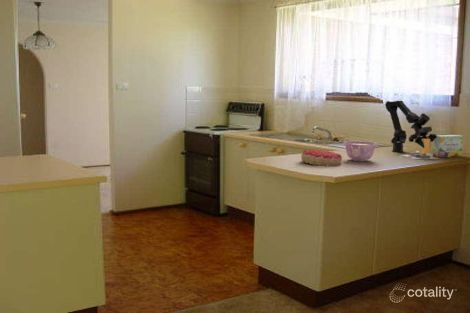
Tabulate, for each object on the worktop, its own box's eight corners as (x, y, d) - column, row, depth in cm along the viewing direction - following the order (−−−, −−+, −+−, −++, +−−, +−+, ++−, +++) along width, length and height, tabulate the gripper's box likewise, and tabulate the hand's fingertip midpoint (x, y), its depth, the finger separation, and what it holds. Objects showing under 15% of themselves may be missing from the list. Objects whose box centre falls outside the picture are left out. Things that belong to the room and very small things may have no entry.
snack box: (438, 157, 358) (440, 136, 356) (432, 156, 364) (434, 135, 361) (461, 156, 366) (463, 135, 364) (455, 155, 371) (457, 134, 369)
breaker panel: (400, 155, 364) (401, 150, 364) (422, 155, 368) (422, 150, 368) (414, 159, 347) (415, 154, 347) (437, 159, 351) (437, 154, 350)
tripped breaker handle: (421, 153, 358) (422, 138, 356) (426, 153, 358) (427, 138, 357) (423, 154, 355) (424, 139, 353) (429, 154, 356) (430, 139, 354)
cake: (293, 159, 333) (294, 146, 331) (326, 159, 342) (328, 147, 340) (312, 168, 310) (314, 155, 309) (348, 168, 320) (349, 155, 318)
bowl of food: (352, 163, 327) (353, 145, 325) (338, 158, 346) (339, 141, 344) (381, 162, 332) (382, 144, 330) (365, 157, 351) (366, 140, 349)
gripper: (412, 122, 355) (419, 140, 346) (436, 122, 359) (444, 140, 350) (405, 132, 364) (412, 150, 355) (428, 132, 368) (436, 150, 359)
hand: (426, 147), depth 355 cm, fingers closed on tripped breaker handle, 4 cm apart
